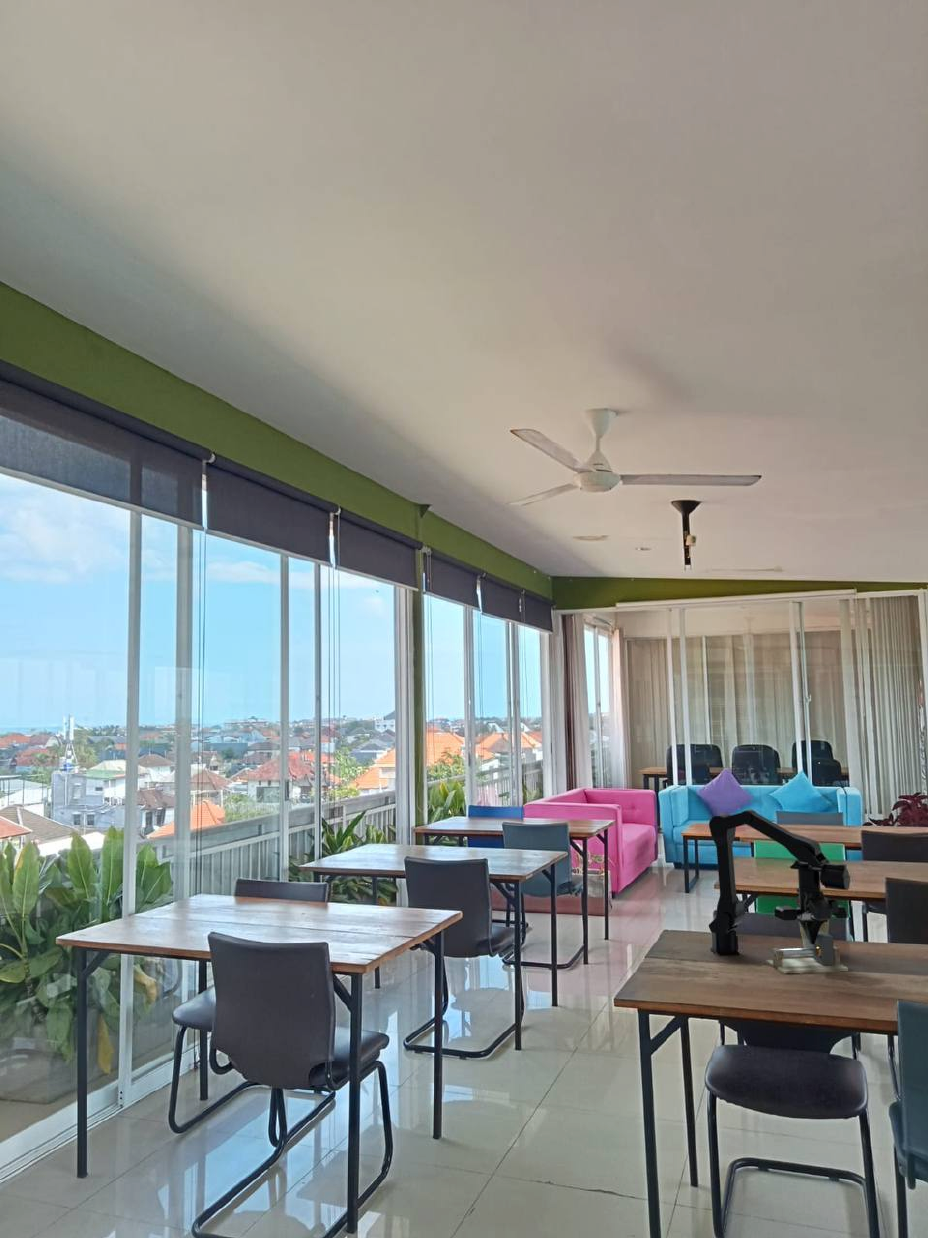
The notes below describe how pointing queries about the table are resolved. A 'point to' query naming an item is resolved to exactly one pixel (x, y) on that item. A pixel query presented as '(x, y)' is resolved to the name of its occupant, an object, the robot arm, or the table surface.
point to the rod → (800, 952)
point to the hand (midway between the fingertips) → (812, 944)
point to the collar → (824, 948)
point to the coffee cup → (823, 928)
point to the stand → (805, 964)
